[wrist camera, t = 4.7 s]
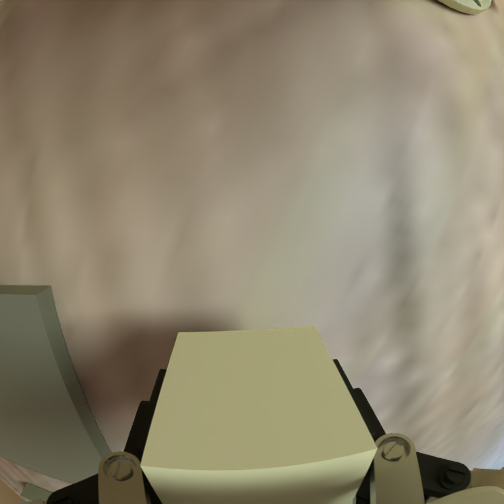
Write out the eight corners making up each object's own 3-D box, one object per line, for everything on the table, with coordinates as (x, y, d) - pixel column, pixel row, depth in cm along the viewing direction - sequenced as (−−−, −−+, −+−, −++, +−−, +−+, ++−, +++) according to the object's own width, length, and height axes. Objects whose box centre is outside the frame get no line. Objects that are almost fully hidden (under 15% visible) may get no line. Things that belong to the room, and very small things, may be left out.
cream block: (314, 325, 11) (377, 448, 5) (305, 417, 12) (337, 525, 6) (178, 332, 10) (140, 465, 5) (196, 423, 12) (185, 536, 6)
